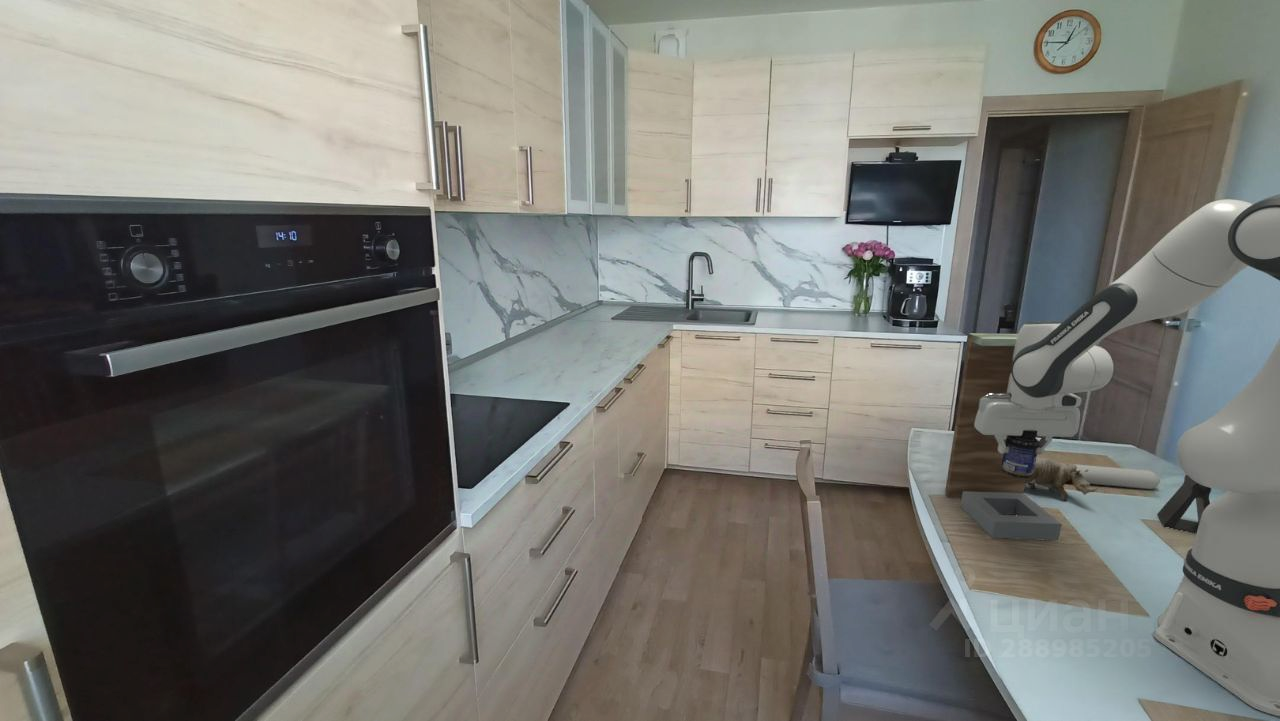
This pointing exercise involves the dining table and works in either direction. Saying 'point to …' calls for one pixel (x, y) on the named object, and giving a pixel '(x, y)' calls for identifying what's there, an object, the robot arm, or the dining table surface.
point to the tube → (1119, 477)
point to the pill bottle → (1021, 455)
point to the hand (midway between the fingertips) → (1020, 453)
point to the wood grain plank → (972, 450)
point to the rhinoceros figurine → (1058, 477)
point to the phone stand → (1185, 506)
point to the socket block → (1010, 516)
